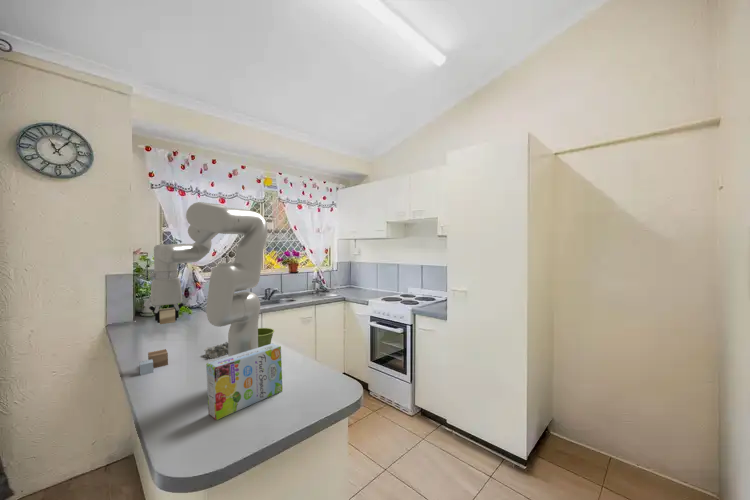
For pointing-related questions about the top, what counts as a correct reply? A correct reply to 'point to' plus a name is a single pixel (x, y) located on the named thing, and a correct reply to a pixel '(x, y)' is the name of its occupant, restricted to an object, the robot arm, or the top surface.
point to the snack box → (243, 379)
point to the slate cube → (146, 367)
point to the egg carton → (217, 350)
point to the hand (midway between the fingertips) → (167, 320)
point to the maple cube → (167, 315)
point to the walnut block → (159, 358)
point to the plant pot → (264, 336)
